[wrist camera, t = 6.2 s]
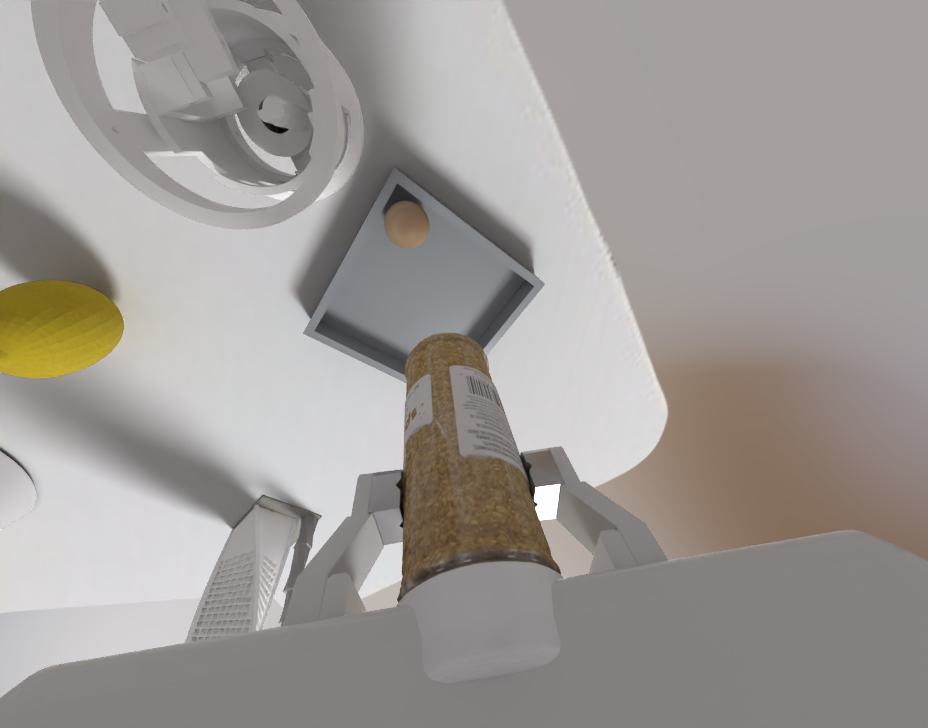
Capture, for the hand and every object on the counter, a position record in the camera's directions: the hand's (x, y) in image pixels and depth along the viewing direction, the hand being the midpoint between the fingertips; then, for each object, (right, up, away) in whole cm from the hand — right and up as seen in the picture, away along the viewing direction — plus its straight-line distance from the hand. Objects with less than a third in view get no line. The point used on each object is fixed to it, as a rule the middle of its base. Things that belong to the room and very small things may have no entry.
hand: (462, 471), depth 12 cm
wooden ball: (-4, +13, +10) cm, 17 cm away
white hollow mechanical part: (-9, +19, +9) cm, 23 cm away
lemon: (-26, +8, +12) cm, 30 cm away
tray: (-3, +9, +15) cm, 18 cm away
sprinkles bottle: (-1, +4, +6) cm, 7 cm away
